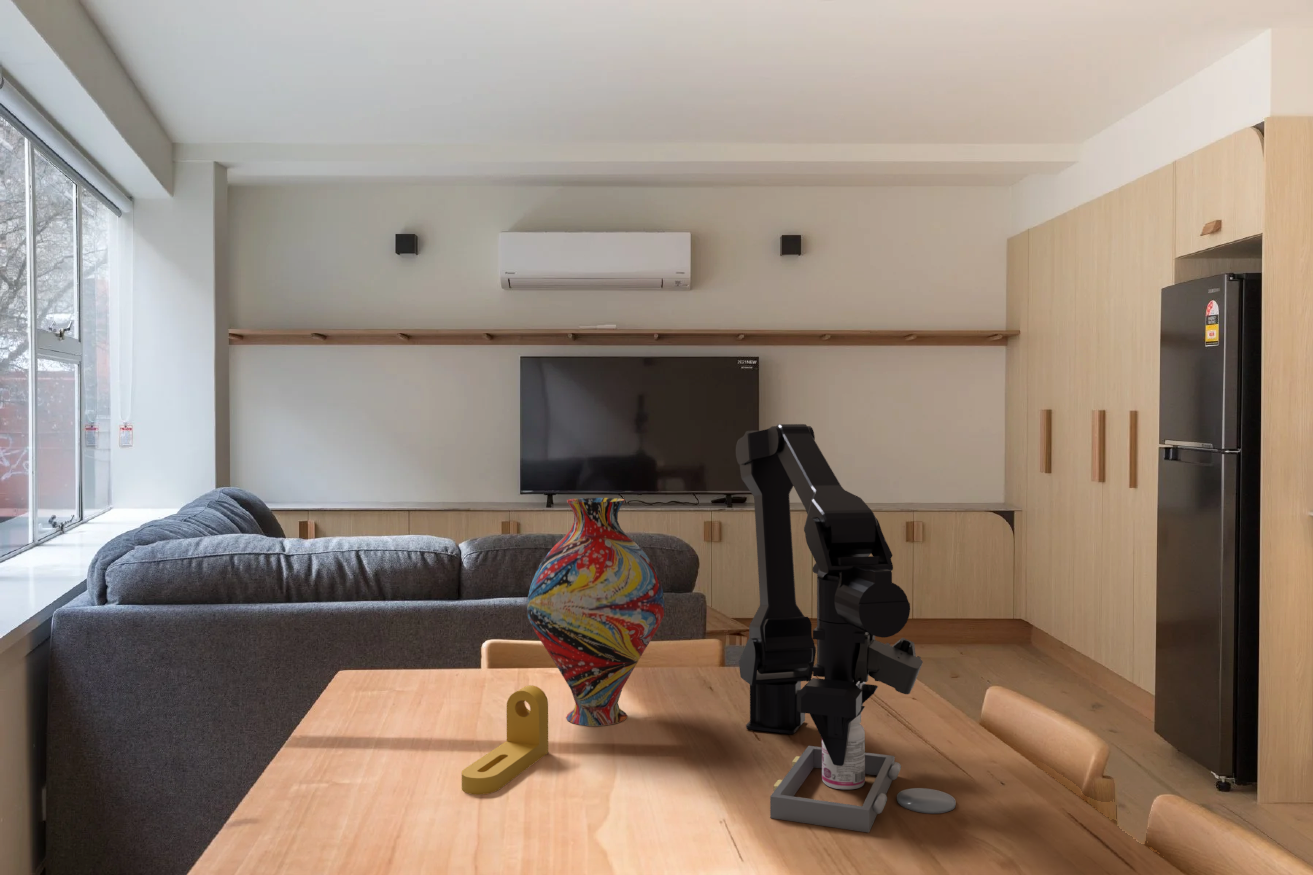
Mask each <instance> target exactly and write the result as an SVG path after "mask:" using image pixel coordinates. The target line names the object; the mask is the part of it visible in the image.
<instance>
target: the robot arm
mask: <svg viewBox="0 0 1313 875" xmlns="http://www.w3.org/2000/svg"><path fill="white" fill-rule="evenodd" d="M815 438H816V436H815V432H814V429H813V427H812V426H810V425H807V424H805V423H780V424H779V423H777V424H776V425H775V426H773V425H772V426H771V427H769V428H766V429H761V430H746V431H745V432H744V435H743V436H741V437H740V438H738V440H737V442H736V445H735V457H736V462H737V465H739V470H740V471H739V472H740V478H741V480H742V482H744V484H745V486H746V487H747V489H748V490H749V492H750V493H751V495H752V496H753V501H754V504H753V505H754V519H755V521H754V522H755V537H756V538H755V540H756V556H757V568H758V570H757V573H758V575H757V576H758V586H759V587H758V590H759V592H758V593H759V606H758V608H757V610H756V612H755V614H754V615H753V617H752V619H751V622H750V623H749V626H748V627H749V628H748V629H749V630H748V632H749V634H748V637H749V638H748V639H747V641H746V643H745V646H744V649H743V651H742V653H741V656H740V658H739V661H738V666H739V667H738V668H739V675H740V679H742V680H743V681H745V682H746V683H747V684H748V685H749V721H748V722H747V723H746V724H745V728H746V729H747V730H752V731H753V730H754V731H763V732H769V733H772V732H773V733H779V734H787V735H789V734H790V735H793V734H796V732H797V731H798V730H799V729H800V727H801V726H802V725H803V723H804V722H805V721H806V714H809V715H810V717H811V719H812V721H813V723H814V725H815V727H816V729H817V732H818V734H819V735H820V737H821V741H822V740H823V742H824V745H825V747H826V749H827V751H828V754H829V756H830V758H831V760H832V762H833V764H834V765H838V766H843V764H844V760H845V755H846V750H847V744H848V738H849V732H850V726H851V721H852V720H853V719H855V718H856V717H858V716H859V715H860V714H861V715H862V712H863V711H864V709H865V708H866V706H864V703H865V702H867V701H868V700H869V699H870V698H871V697H872V696H873V695H874V694H875V692H876V691H877V689H878V688H879V686H878V685H876V684H871V683H870V684H869V683H867V682H868V681H869V677H870V678H872V679H874V681H875V682H880V683H883V684H885V685H886V686H889V687H892V689H893V688H894V689H895V691H896V692H898V693H900V694H903V695H910V694H911V691H912V690H913V688H914V686H915V684H916V681H917V678H918V676H919V673H920V670H921V668H922V666H923V664H924V663H923V662H924V661H923V660H922V657H921V656H919V655H918V656H917V654H916V647H915V642H914V641H911V640H909V639H906V638H905V637H901V638H900V639H898V640H897V641H896V642H895V643H894V644H893V645H891V643H889V642H886V643H883V642H881V641H878V640H877V639H876V637H878V638H882V639H883V638H889V637H892V636H895V635H896V634H898V633H899V632H901V631H902V629H904V628H905V626H906V624H907V622H908V620H909V617H910V613H911V603H910V602H909V599H908V596H907V594H906V593H905V591H904V590H903V589H902V587H900V586H899V585H897V584H896V583H894V582H893V572H892V571H893V570H894V564H893V562H892V557H893V553H892V551H891V549H890V546H889V544H888V542H887V540H886V538H885V536H884V534H883V531H882V530H883V529H882V528H881V525H880V521H879V520H878V518H877V517H876V514H875V513H874V512H873V510H872V509H871V507H870V506H868V505H867V503H866V502H865V501H864V500H863V499H862V498H861V497H860V496H858V495H856V494H853V493H851V492H849V491H848V490H846V489H844V488H843V487H842V484H841V483H840V482H839V479H838V478H837V476H836V475H835V473H834V471H833V469H832V467H831V466H830V465H829V463H828V461H827V459H826V458H825V456H824V454H823V452H822V450H821V449H820V448H819V446H818V444H817V441H816V440H815ZM793 488H794V490H795V491H796V493H797V495H798V497H799V499H800V501H801V503H802V505H803V507H804V510H805V512H806V514H807V516H806V520H805V523H804V526H803V532H804V535H805V542H806V545H807V547H808V549H809V551H810V553H811V556H812V558H813V559H814V561H815V564H814V565H813V566H812V572H813V574H816V627H815V628H814V629H812V626H813V625H812V621H811V619H810V617H809V616H806V615H804V614H803V612H802V611H801V609H800V608H799V606H798V604H797V601H796V600H797V599H796V584H795V565H794V553H793V548H794V547H793V536H792V535H793V534H792V533H793V532H792V520H791V519H792V517H791V502H790V494H791V491H792V490H793ZM814 640H816V646H815V642H814ZM815 659H816V660H817V661H816V664H815ZM816 677H819V678H816ZM820 677H821V678H820ZM802 682H807V683H806V684H805V685H804V686H803V687H802Z"/></svg>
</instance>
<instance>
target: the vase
mask: <svg viewBox="0 0 1313 875" xmlns="http://www.w3.org/2000/svg"><path fill="white" fill-rule="evenodd" d="M566 502H567V504H568V506H569V507H570V509H571V511H572V512H573V523H572V525H571V528H570V529H569V531H568V532H567V533H566V534H565V535H564V536H563V537H562V538H561V539H560V540H559V541H558V542H557V543H556V544H554V546H553V547H552V548H551V549H550V550H549V551H548V553H547V554H546V555H545V557H544V558H543V559H542V561H541V562H540V564H539V566H538V567H537V569H536V571H535V574H534V575H533V577H532V581H531V584H530V587H529V591H528V595H527V618H528V621H529V623H530V625H531V626H532V628H533V631H534V633H535V634H536V636H537V638H538V639H539V640H540V642H541V643H542V645H543V647H544V648H545V650H546V652H547V653H548V654H549V656H550V657H551V659H552V661H553V662H554V664H555V666H556V667H557V669H558V670H559V672H560V674H561V676H562V678H563V679H564V681H565V682H566V684H567V685H568V688H569V689H570V691H571V694H572V696H573V699H574V702H575V703H574V704H575V705H574V708H573V710H571V711H570V712H569V713H568V714H567V715H566V717H565V718H566V720H567V721H568V722H570V723H571V724H576V725H581V726H590V727H591V726H592V727H596V726H597V727H599V726H600V727H602V726H609V725H615V724H618V723H621V722H622V723H623V722H624V721H625V720H626V719H627V718H628V714H627V713H626V712H625V711H624V710H622V709H621V708H620V706H619V702H620V701H619V700H620V698H621V695H622V691H623V690H624V687H625V685H626V683H627V681H628V679H630V676H631V674H632V673H633V671H634V669H635V668H636V666H637V664H638V663H639V661H640V659H641V658H642V655H643V654H644V653H645V651H646V649H647V647H648V646H649V644H650V643H651V640H652V639H653V637H654V636H655V634H656V633H657V631H658V629H659V627H660V626H661V623H662V620H663V619H664V618H665V617H664V616H665V608H666V606H665V595H664V591H663V585H662V582H661V579H660V577H659V574H658V573H657V571H656V570H657V569H656V568H655V566H654V565H653V563H652V562H651V560H650V558H649V557H648V556H647V554H646V552H645V551H644V550H643V549H642V548H641V547H640V546H639V544H637V543H636V542H635V541H634V540H633V539H631V537H629V536H628V534H627V533H626V532H625V531H623V529H622V528H621V526H620V523H619V521H618V518H619V516H618V514H619V511H620V509H621V507H622V506H623V505H624V503H625V499H624V498H618V497H617V498H616V497H584V498H583V497H582V498H581V497H579V498H571V499H566Z"/></svg>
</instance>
